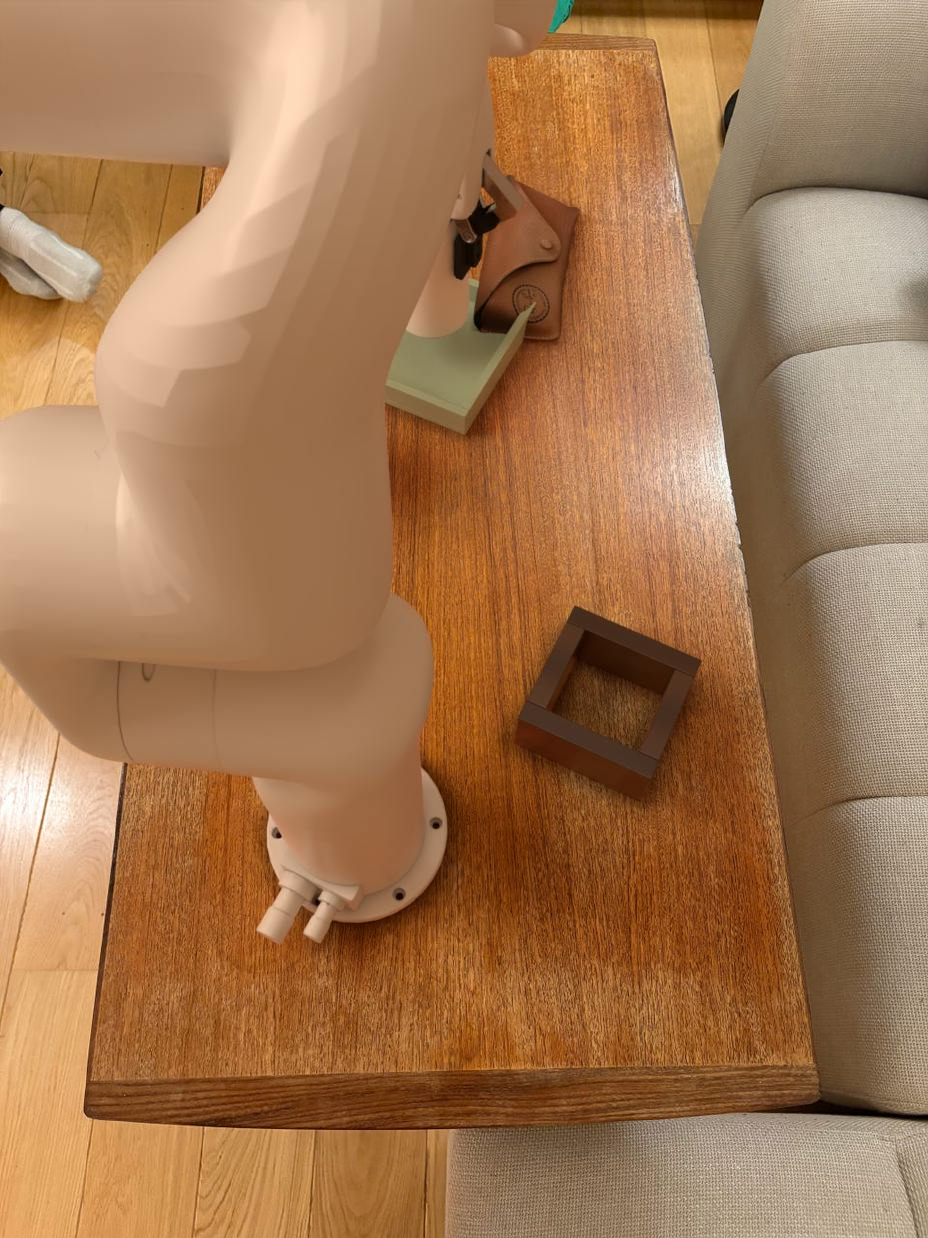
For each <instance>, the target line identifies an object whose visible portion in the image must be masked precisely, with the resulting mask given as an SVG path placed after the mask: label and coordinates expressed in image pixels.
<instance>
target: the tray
mask: <svg viewBox="0 0 928 1238" xmlns="http://www.w3.org/2000/svg"><path fill="white" fill-rule="evenodd" d="M468 277H469V314H468V317H467V319H466V321H465V323H464V324H463V325H462V326H461V327H460V328H459V329H458V330H456V331H455V332H453V333H452V334H450V335H447V336H445V337H441V338H433V339H430V338H422V337H419V336H416V335H414V334H412V333H410V332H408V331H407V330H405V332H404V334H403V337H402V339H401V341H400V344H399V346H398V348H397V351H396V353H395V355H394V358H393V360H392V364H391V367H390V371H389V374H388V378H387V381H386V385H385V404H386V405H389V406H392V407H394V408H397V409H398V410H402V411H404V412H407V413H409V414H411V415H414V416H416V417H419V418H421V419H423V420H426V421H428V422H431V423H433V424H436V425H439V426H441V427H443V428H446V429H447V430H451V431H453V432H456V433H458V434H460V435H463V436H466V435H467V433H468V431H469V429H470V428H471V426H472V424H473V423H474V421H475V420H476V418H477V416H478V415H479V413H480V412H481V410H482V409H483V407H484V405H485V404H486V402H487V400H488V399H489V397H490V395H492V392H493V391H494V389H495V388H496V385H498V383H499V380H500V379H501V377H502V376H503V374H504V373H505V371H506V369H507V368H508V366H509V365H510V363H511V361H512V360H513V358H514V356H515V355H516V353H517V351H518V350H519V348H520V347H521V345H522V344H523V341H524V340H523V337H524V334H525V329H526V324H527V321H528V318H529V316H530V314H531V312H532V310H533V308H534V306H535V305H536V302H534V303H533V304H532V305H531V306H530V307H529V308H528V309H527V310H526V311H524V312H522V313H520V314H519V316H518V317H517V319H516V321H515V322H514V324H513V325H512V327H511V329H510V330H509V332H508V333H507V334H502V333H501V334H496V333H495V334H494V333H482V332H480V331H479V330H478V329H477V328H476V326H475V325H474V322H473V314H474V308H475V302H476V296H477V290H478V286H479V280H478V279H474V278H472V277H470V276H468Z"/></svg>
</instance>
